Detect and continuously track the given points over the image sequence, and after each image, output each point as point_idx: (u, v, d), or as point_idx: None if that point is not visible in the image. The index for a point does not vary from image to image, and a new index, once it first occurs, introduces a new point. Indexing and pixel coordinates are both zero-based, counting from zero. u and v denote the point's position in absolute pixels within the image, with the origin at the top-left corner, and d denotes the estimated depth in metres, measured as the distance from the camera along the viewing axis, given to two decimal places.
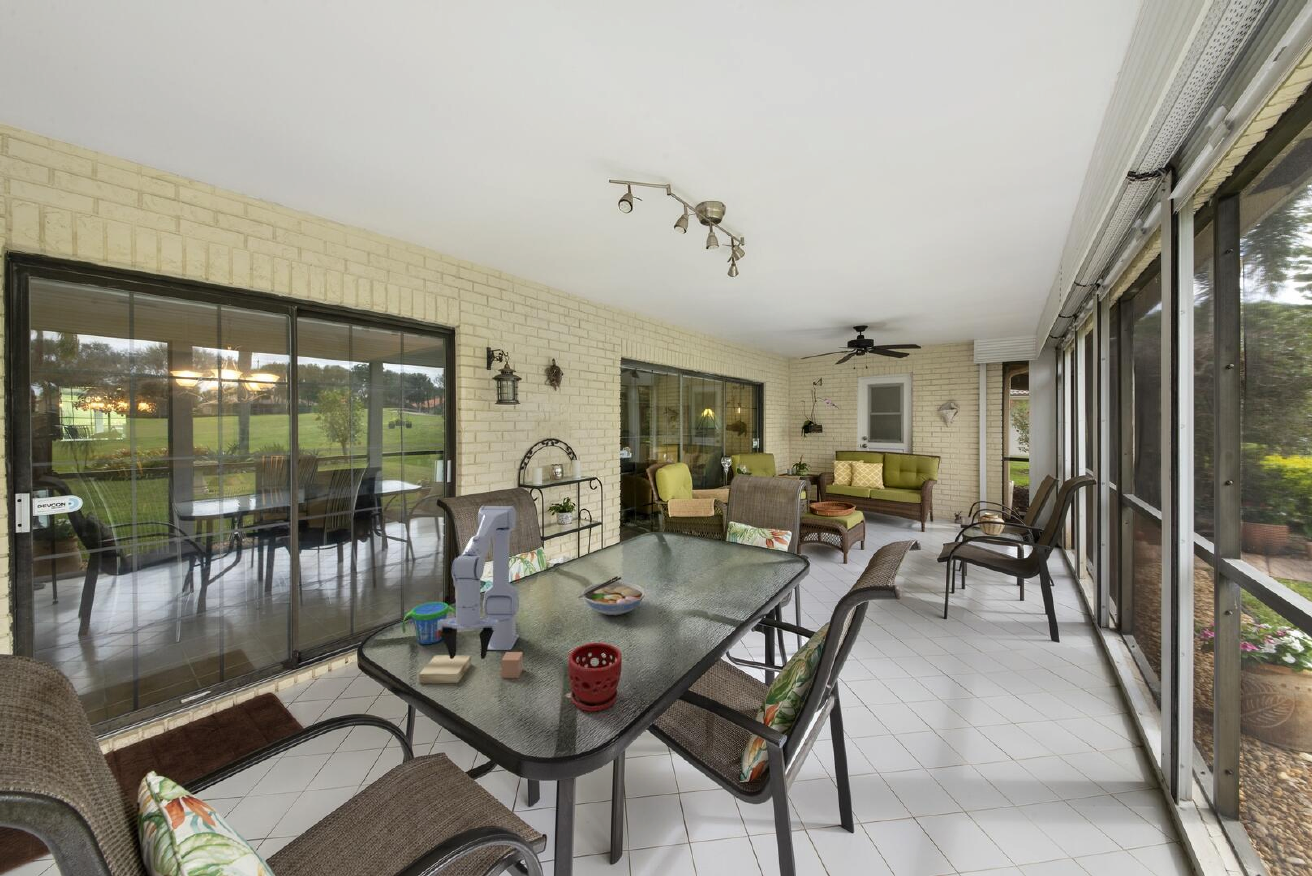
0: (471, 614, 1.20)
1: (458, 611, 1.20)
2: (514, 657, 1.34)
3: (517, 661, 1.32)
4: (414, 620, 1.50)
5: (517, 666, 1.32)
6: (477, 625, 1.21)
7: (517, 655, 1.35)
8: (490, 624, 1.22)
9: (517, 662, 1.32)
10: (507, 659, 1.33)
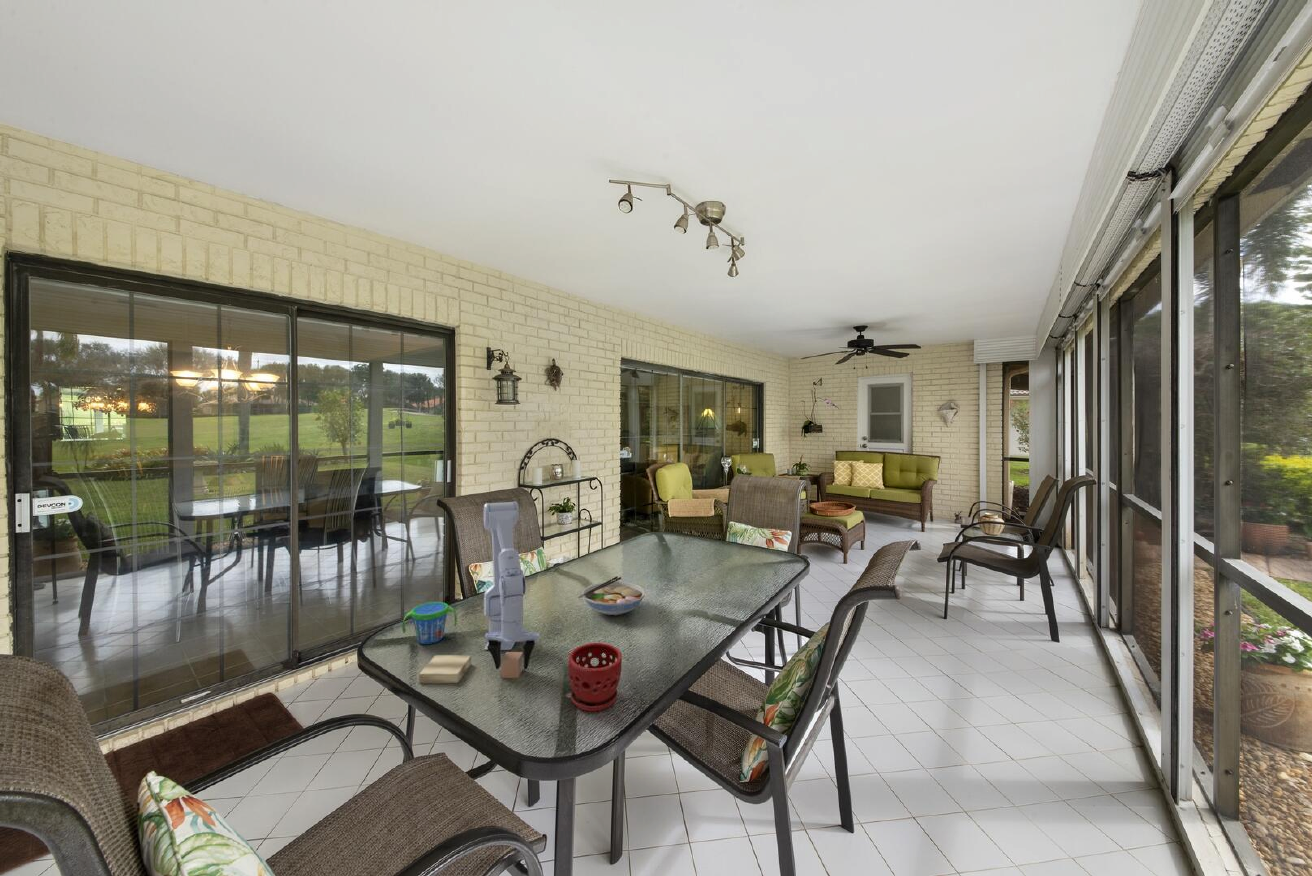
0: (516, 628, 1.32)
1: (504, 626, 1.31)
2: (514, 657, 1.34)
3: (517, 661, 1.32)
4: (414, 620, 1.50)
5: (517, 666, 1.32)
6: (521, 638, 1.32)
7: (517, 655, 1.35)
8: (532, 637, 1.33)
9: (517, 662, 1.32)
10: (507, 659, 1.33)
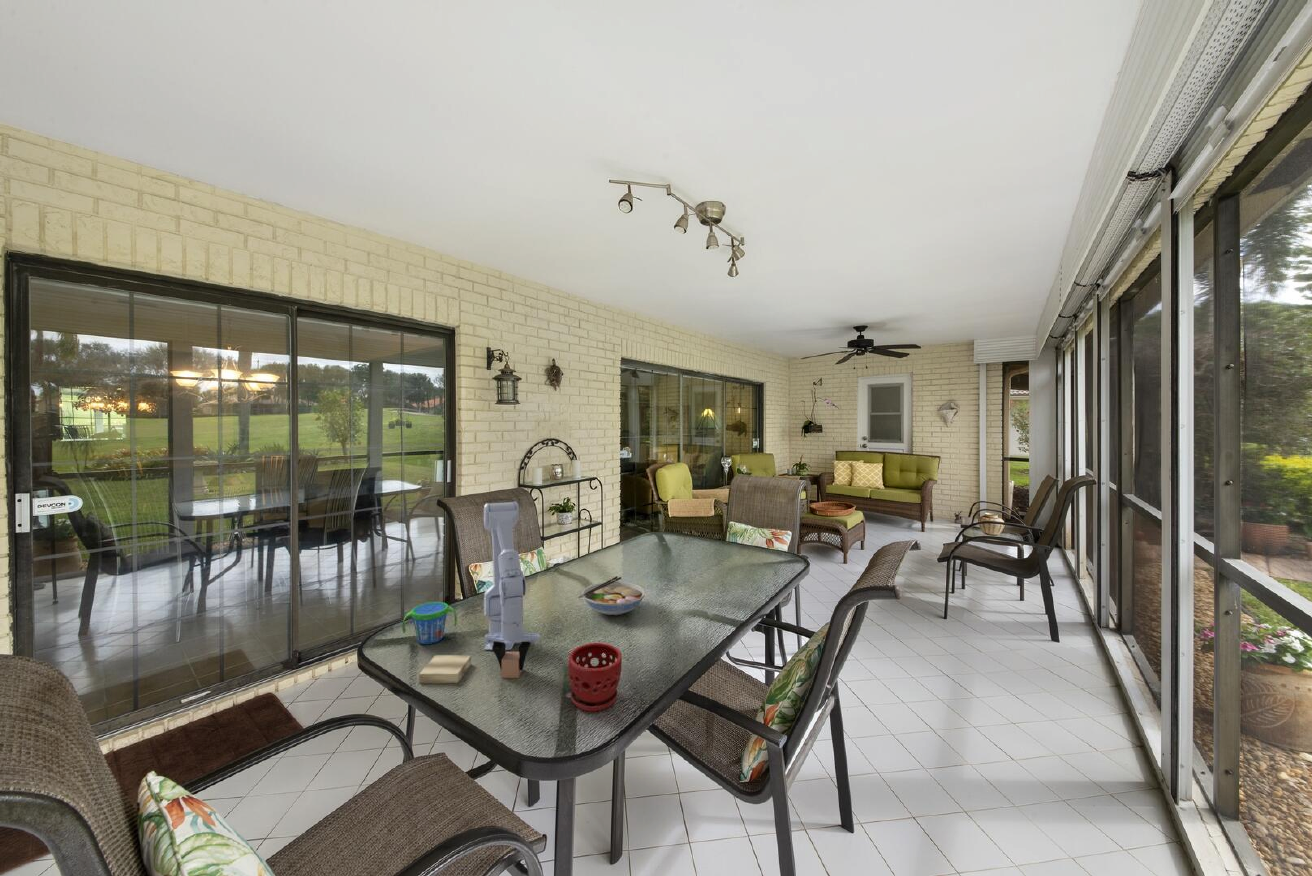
0: (516, 629, 1.32)
1: (504, 627, 1.32)
2: (515, 656, 1.34)
3: (517, 661, 1.32)
4: (414, 620, 1.50)
5: (517, 666, 1.32)
6: (521, 639, 1.32)
7: (517, 655, 1.35)
8: (532, 638, 1.33)
9: (517, 662, 1.32)
10: (507, 658, 1.33)
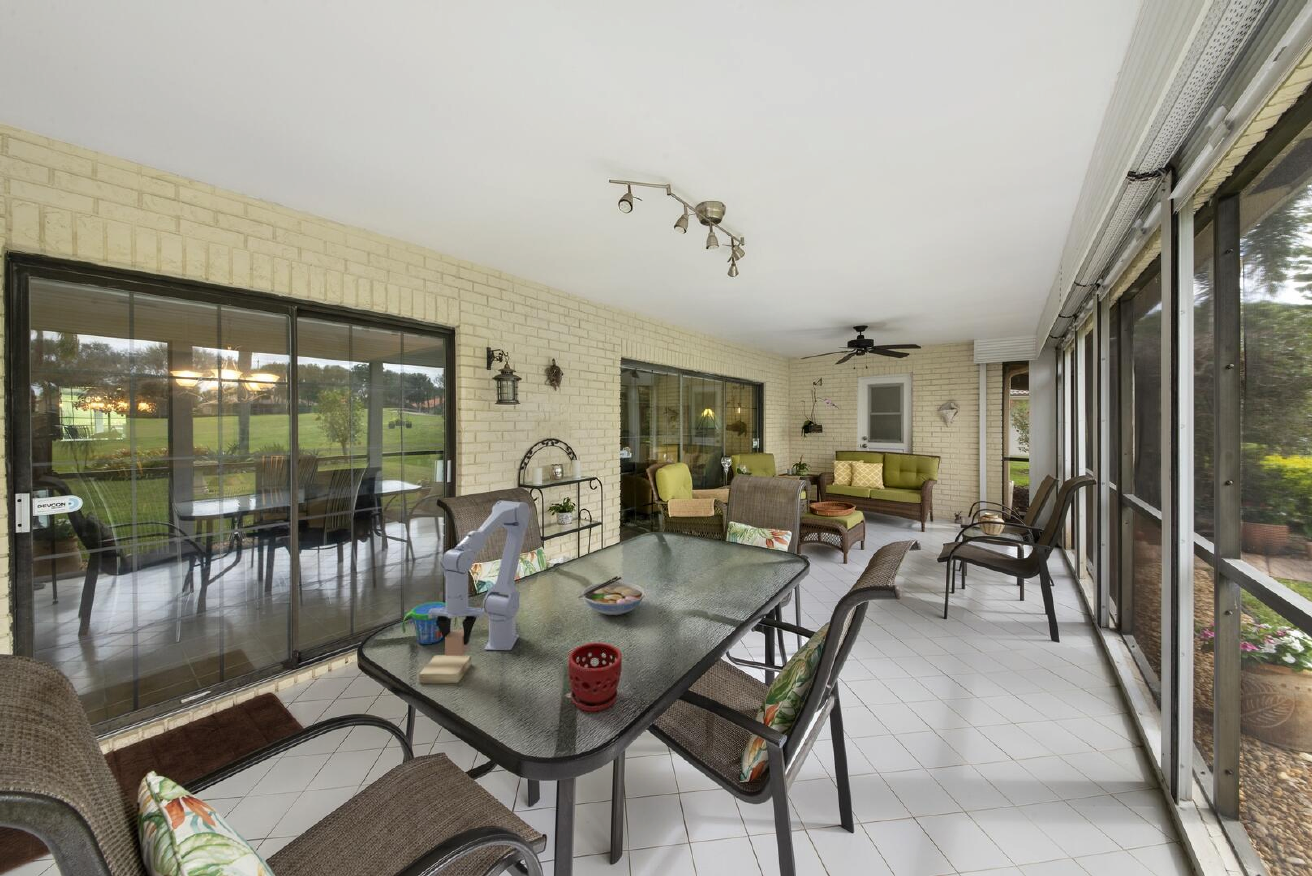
0: (460, 603, 1.31)
1: (448, 601, 1.31)
2: (459, 634, 1.33)
3: (461, 638, 1.31)
4: (414, 620, 1.50)
5: (461, 643, 1.31)
6: (465, 613, 1.31)
7: (461, 633, 1.34)
8: (477, 613, 1.33)
9: (461, 639, 1.31)
10: (451, 636, 1.32)
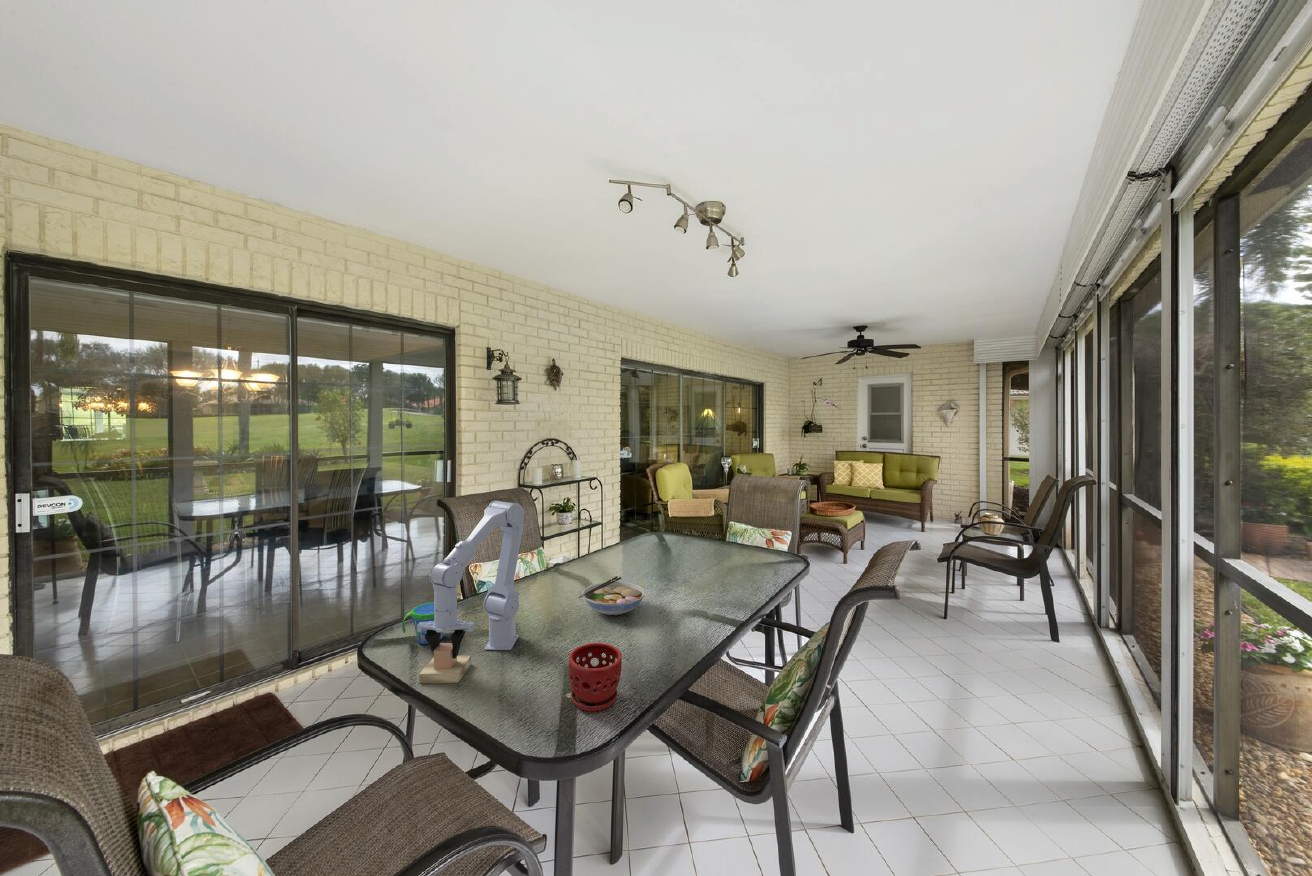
0: (448, 617, 1.31)
1: (436, 615, 1.31)
2: (447, 648, 1.33)
3: (449, 652, 1.31)
4: (414, 620, 1.50)
5: (449, 657, 1.31)
6: (453, 627, 1.32)
7: (450, 646, 1.34)
8: (466, 626, 1.33)
9: (449, 653, 1.31)
10: (439, 650, 1.32)
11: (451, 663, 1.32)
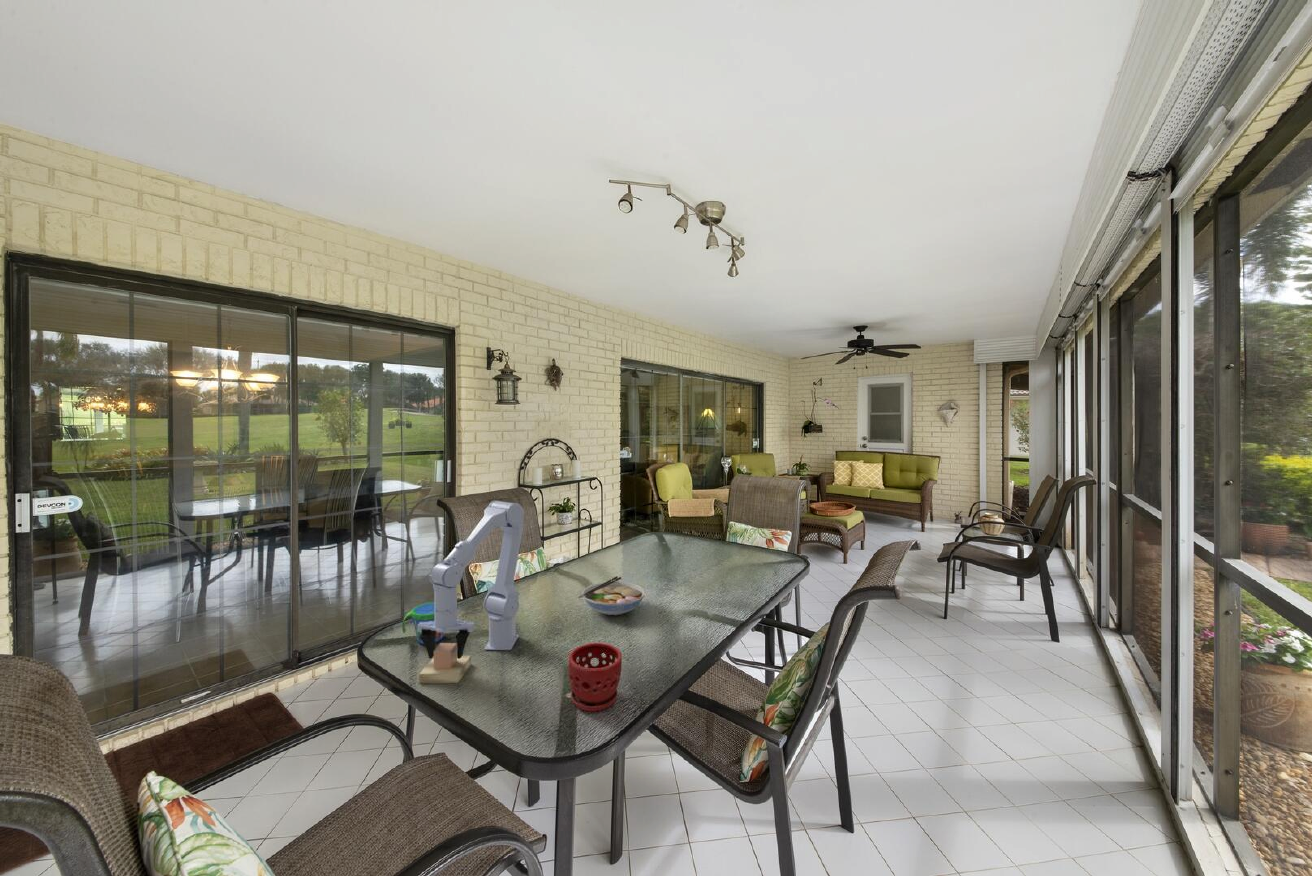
0: (448, 617, 1.31)
1: (436, 615, 1.31)
2: (447, 648, 1.33)
3: (449, 652, 1.31)
4: (414, 620, 1.50)
5: (449, 657, 1.31)
6: (453, 627, 1.32)
7: (450, 646, 1.34)
8: (466, 626, 1.33)
9: (449, 653, 1.31)
10: (439, 650, 1.32)
11: (451, 663, 1.32)
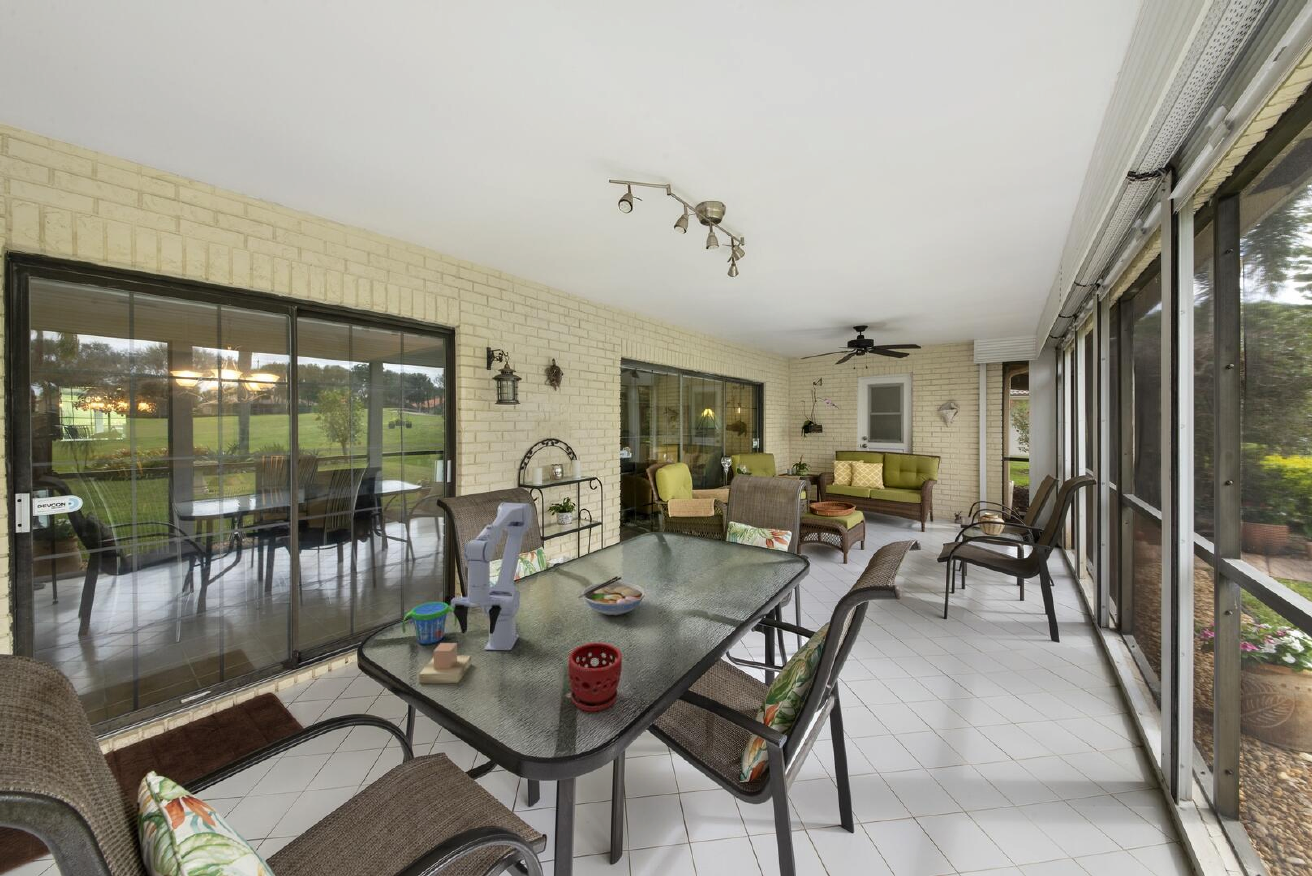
0: (482, 592, 1.34)
1: (470, 590, 1.34)
2: (447, 648, 1.33)
3: (449, 652, 1.31)
4: (414, 620, 1.50)
5: (449, 657, 1.31)
6: (487, 602, 1.34)
7: (450, 646, 1.34)
8: (498, 602, 1.35)
9: (449, 653, 1.31)
10: (439, 650, 1.32)
11: (451, 663, 1.32)
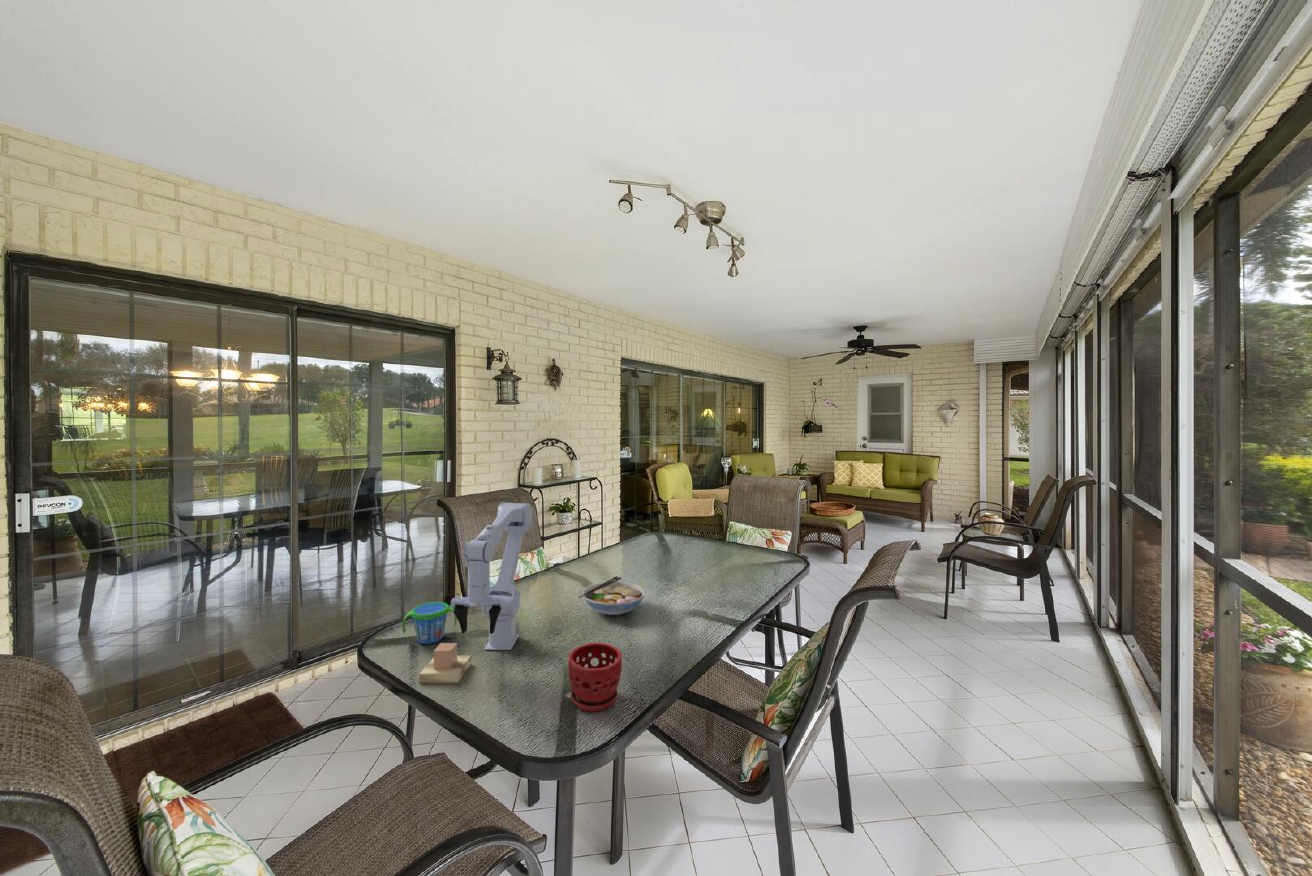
0: (482, 592, 1.34)
1: (470, 590, 1.34)
2: (447, 648, 1.33)
3: (449, 652, 1.31)
4: (414, 620, 1.50)
5: (449, 657, 1.31)
6: (487, 602, 1.34)
7: (450, 646, 1.34)
8: (498, 602, 1.35)
9: (449, 653, 1.31)
10: (439, 650, 1.32)
11: (451, 663, 1.32)
